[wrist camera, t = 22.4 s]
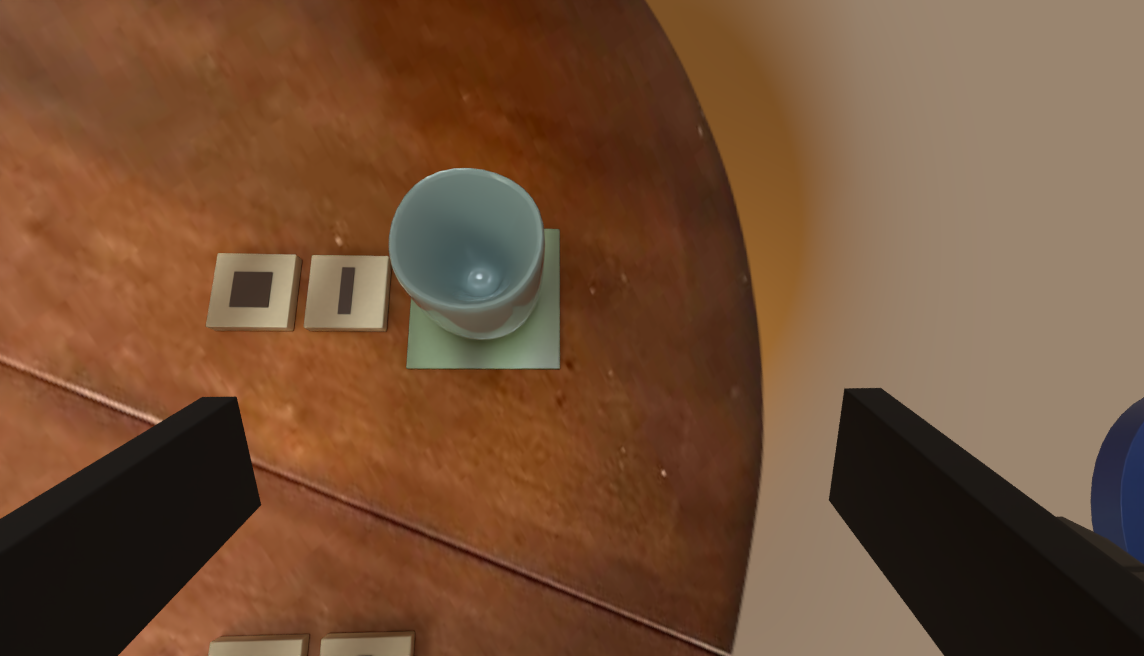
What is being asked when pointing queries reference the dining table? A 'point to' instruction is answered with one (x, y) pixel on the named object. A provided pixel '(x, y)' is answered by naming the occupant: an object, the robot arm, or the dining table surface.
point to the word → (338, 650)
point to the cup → (470, 252)
